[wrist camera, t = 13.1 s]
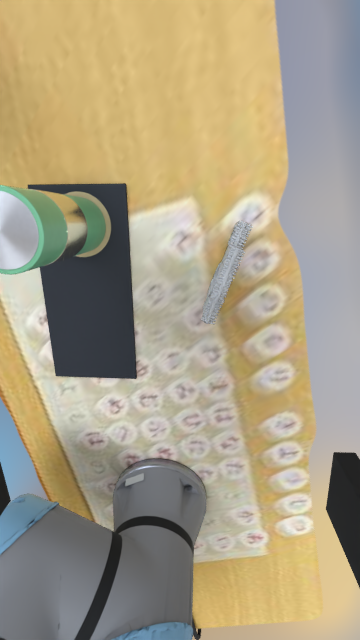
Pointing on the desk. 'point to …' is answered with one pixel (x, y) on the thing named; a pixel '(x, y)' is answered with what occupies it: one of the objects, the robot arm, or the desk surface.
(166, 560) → the robot arm
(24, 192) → the can
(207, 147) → the desk surface
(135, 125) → the desk surface
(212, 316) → the garden wall model
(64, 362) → the mat
